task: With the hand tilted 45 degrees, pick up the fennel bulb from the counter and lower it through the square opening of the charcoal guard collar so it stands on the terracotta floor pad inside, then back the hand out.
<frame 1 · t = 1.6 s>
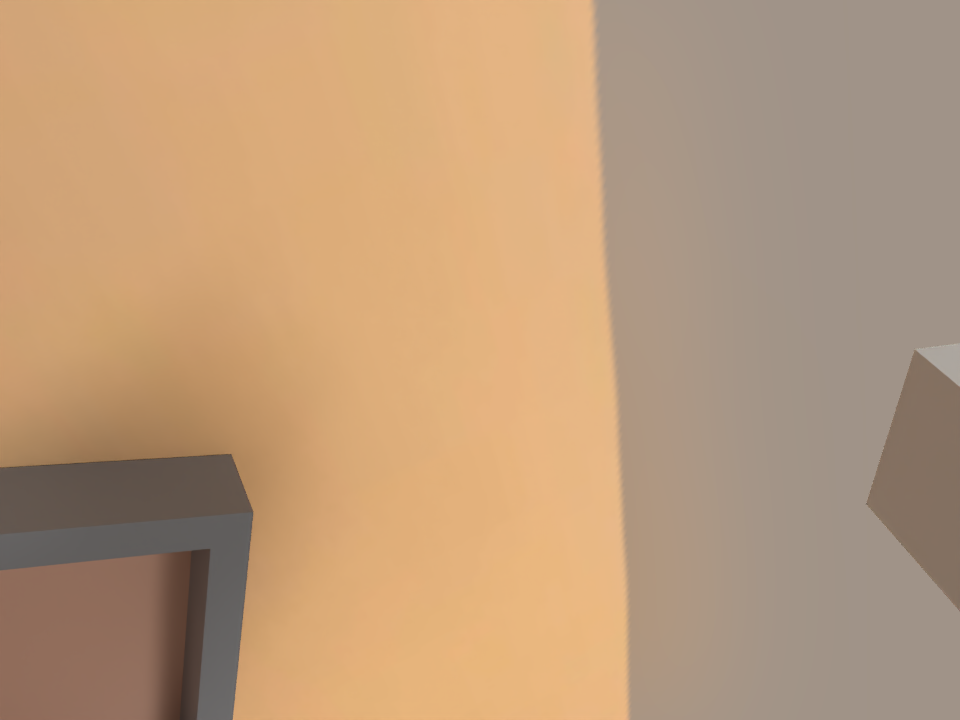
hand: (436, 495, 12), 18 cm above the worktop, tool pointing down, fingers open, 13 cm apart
guard collar: (28, 626, 30), on the worktop
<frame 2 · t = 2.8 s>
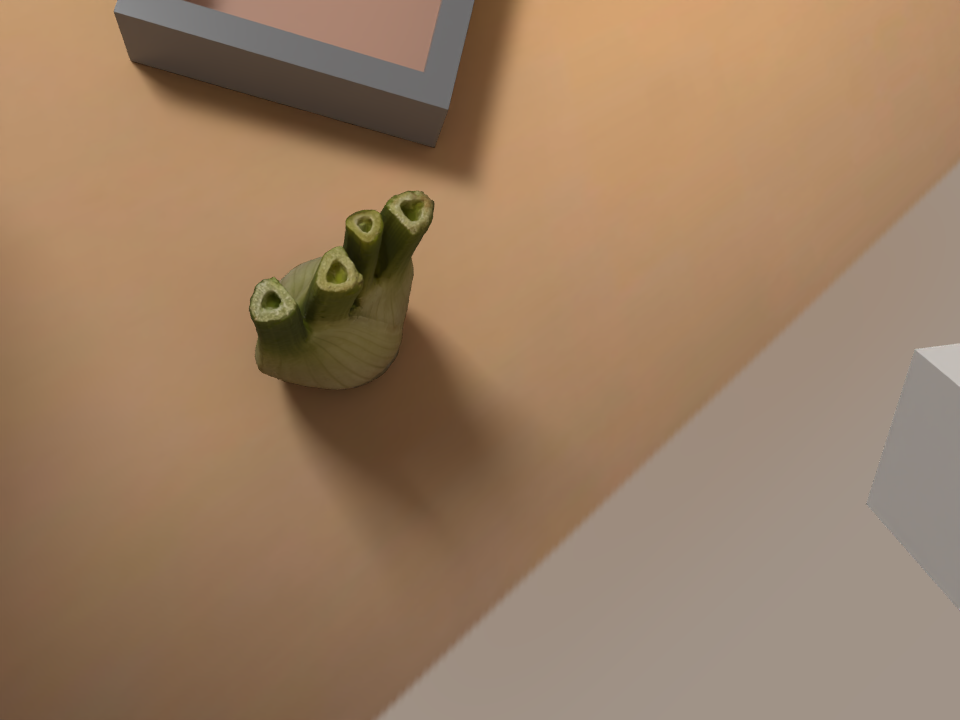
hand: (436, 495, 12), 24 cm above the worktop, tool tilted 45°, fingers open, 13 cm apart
fennel bulb: (330, 336, 36), on the worktop
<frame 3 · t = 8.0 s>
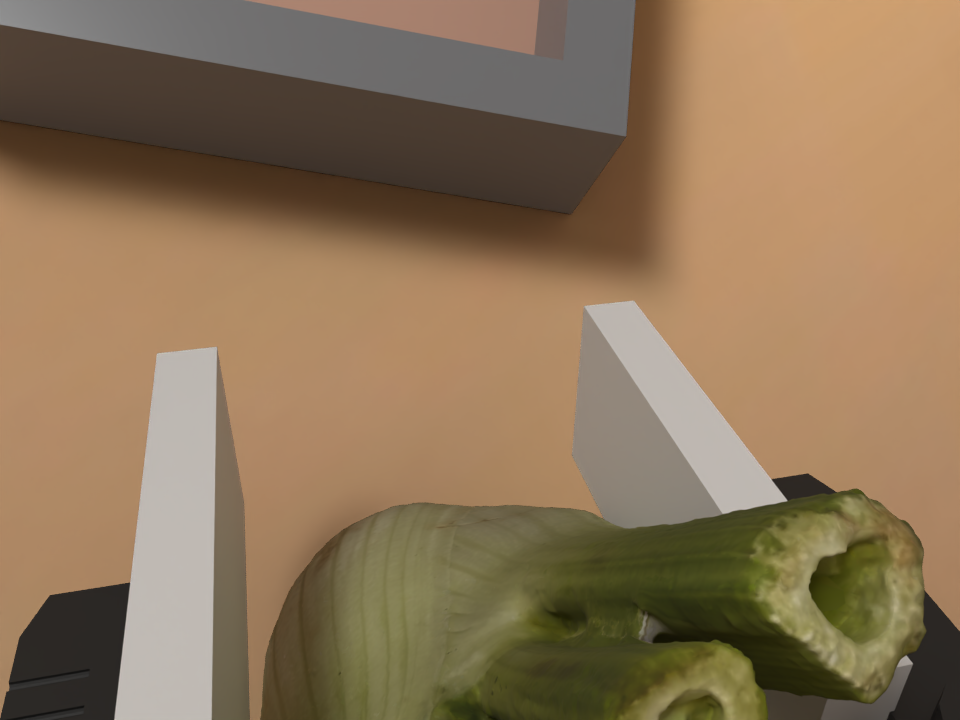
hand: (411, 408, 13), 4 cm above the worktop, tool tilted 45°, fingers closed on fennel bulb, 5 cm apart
fennel bulb: (413, 648, 17), on the worktop, touching gripper
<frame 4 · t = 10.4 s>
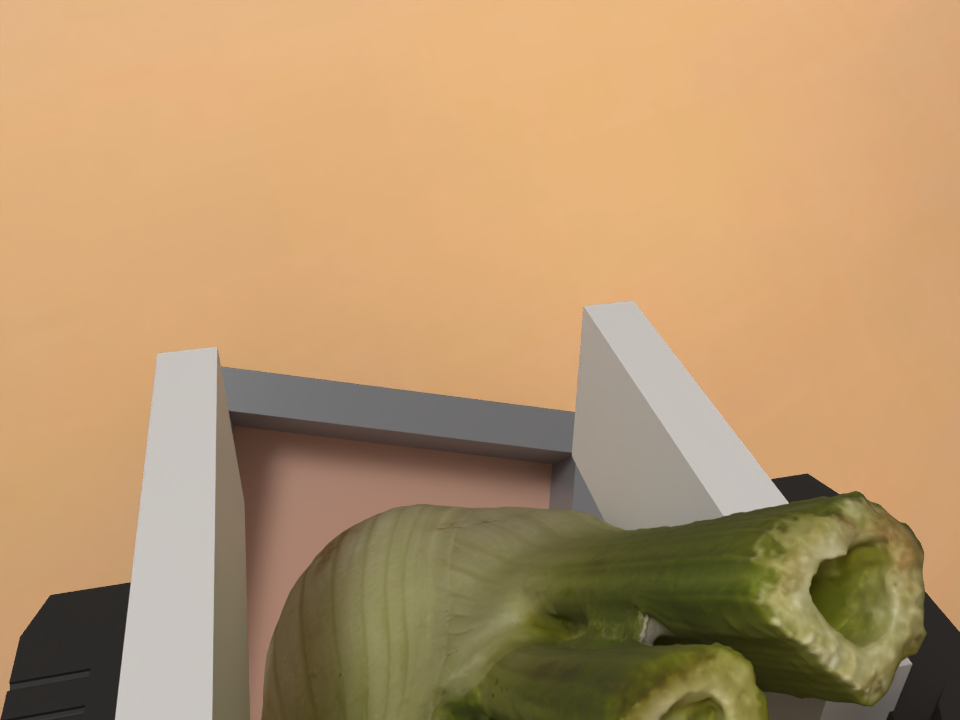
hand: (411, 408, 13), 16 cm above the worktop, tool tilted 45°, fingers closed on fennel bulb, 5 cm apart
guard collar: (376, 609, 28), on the worktop
fennel bulb: (413, 649, 17), point 12 cm above the worktop, touching gripper
when the fingers open (6 cm above the worktop, at t = 12.9 s): fennel bulb drops 2 cm, resting on guard collar.
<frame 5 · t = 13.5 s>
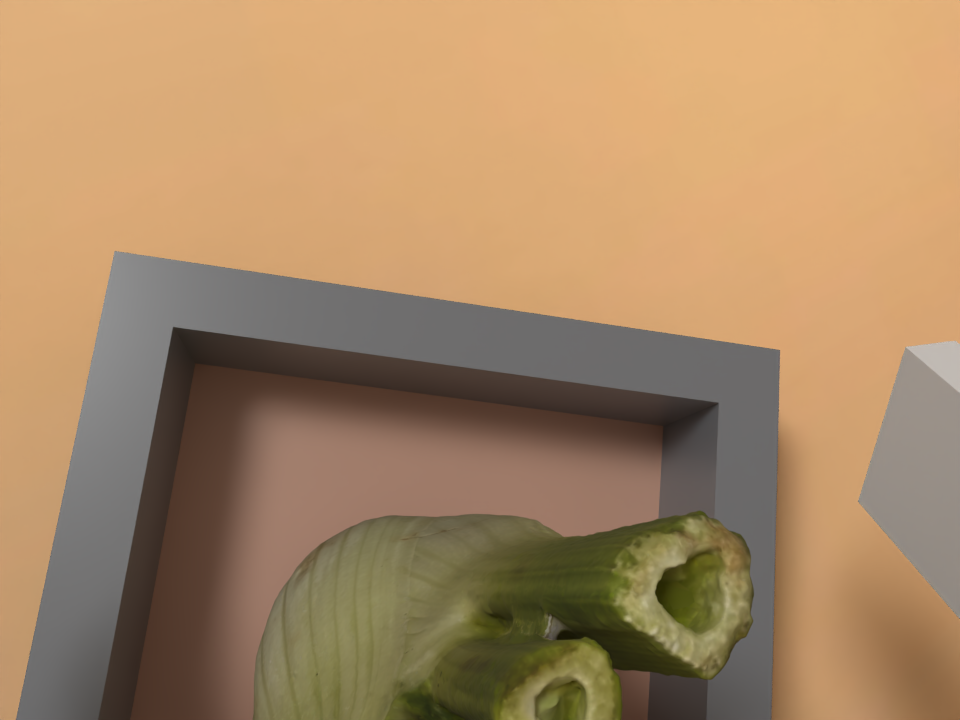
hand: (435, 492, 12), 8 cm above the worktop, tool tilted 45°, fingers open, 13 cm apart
guard collar: (406, 639, 19), on the worktop
fennel bulb: (392, 646, 18), resting on guard collar
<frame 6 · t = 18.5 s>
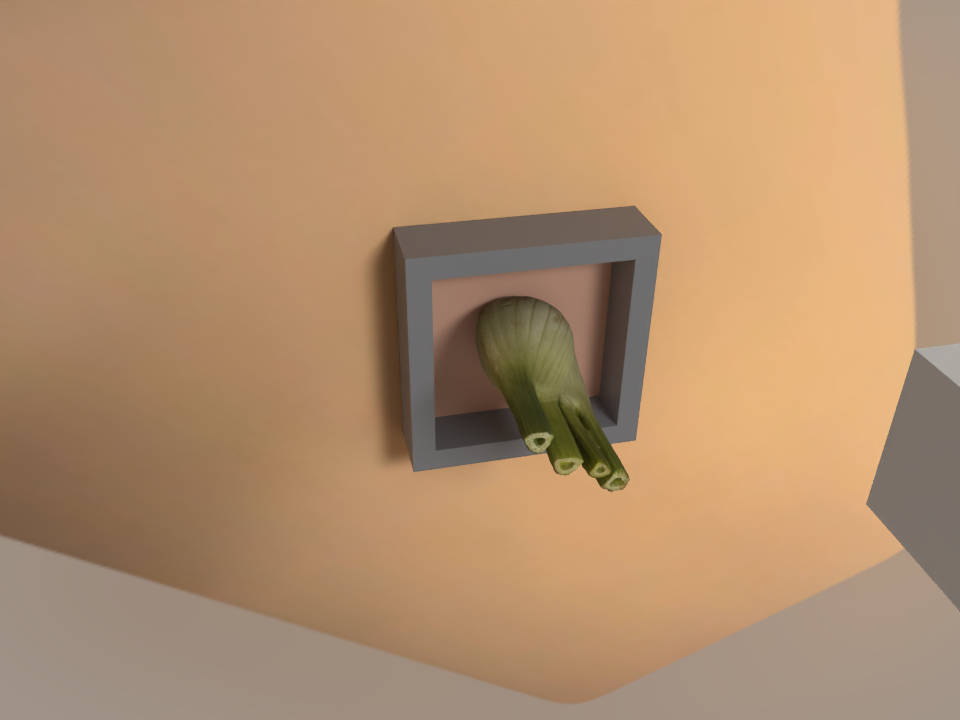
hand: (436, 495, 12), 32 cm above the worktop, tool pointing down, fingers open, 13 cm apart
guard collar: (513, 324, 49), on the worktop
fennel bulb: (513, 323, 48), resting on guard collar
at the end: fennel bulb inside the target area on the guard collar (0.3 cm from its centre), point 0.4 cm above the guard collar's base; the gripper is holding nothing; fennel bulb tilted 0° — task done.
